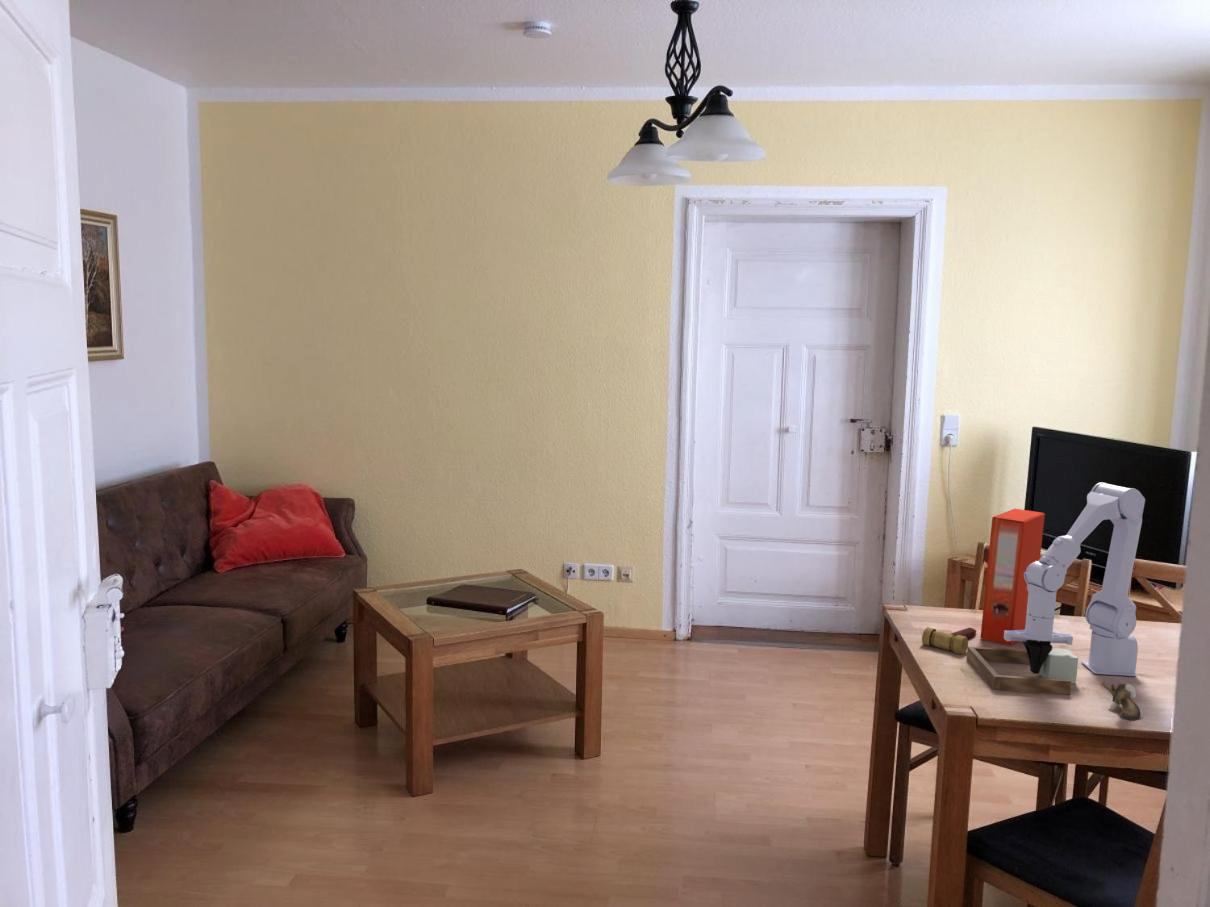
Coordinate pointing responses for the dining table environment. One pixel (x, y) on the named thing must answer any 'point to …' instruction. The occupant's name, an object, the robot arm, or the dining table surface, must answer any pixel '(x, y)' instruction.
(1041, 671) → the cube
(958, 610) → the dining table surface
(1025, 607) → the file binder
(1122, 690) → the eagle figurine
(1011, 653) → the wooden frame
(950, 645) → the gavel
